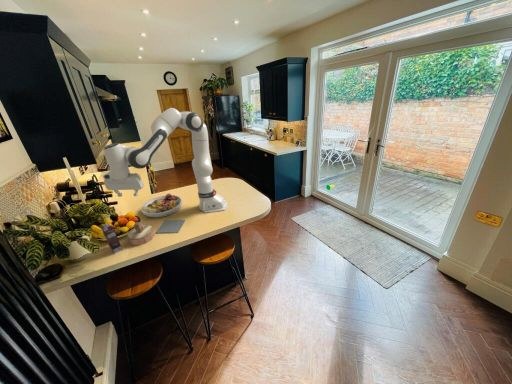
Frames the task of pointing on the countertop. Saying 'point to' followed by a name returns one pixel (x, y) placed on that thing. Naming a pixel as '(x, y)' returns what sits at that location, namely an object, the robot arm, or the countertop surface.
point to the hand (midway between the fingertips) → (128, 196)
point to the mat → (170, 226)
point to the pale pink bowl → (139, 231)
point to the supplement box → (111, 238)
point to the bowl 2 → (161, 206)
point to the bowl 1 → (142, 239)
